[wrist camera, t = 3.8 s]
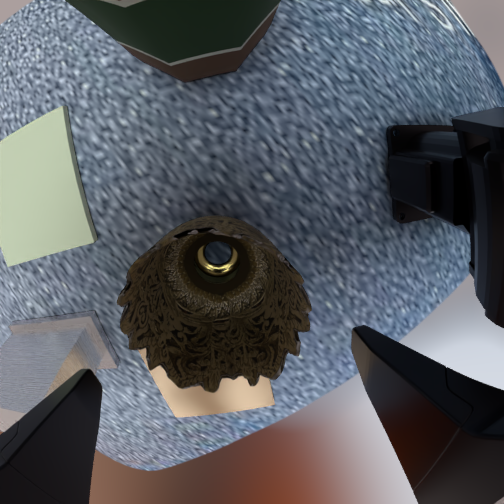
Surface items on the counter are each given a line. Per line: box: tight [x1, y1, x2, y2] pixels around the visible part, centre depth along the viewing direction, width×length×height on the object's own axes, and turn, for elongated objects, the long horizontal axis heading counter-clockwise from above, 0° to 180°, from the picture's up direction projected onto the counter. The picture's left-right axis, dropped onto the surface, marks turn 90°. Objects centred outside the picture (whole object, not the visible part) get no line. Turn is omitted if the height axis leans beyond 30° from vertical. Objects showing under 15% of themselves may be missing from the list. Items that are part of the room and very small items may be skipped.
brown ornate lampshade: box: [117, 216, 312, 393], centre depth 14 cm, size 8×7×8 cm
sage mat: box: [0, 106, 98, 267], centre depth 15 cm, size 9×9×1 cm
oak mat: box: [138, 348, 275, 417], centre depth 21 cm, size 9×9×1 cm
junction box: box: [0, 310, 120, 432], centre depth 15 cm, size 10×5×10 cm, turn 100°
